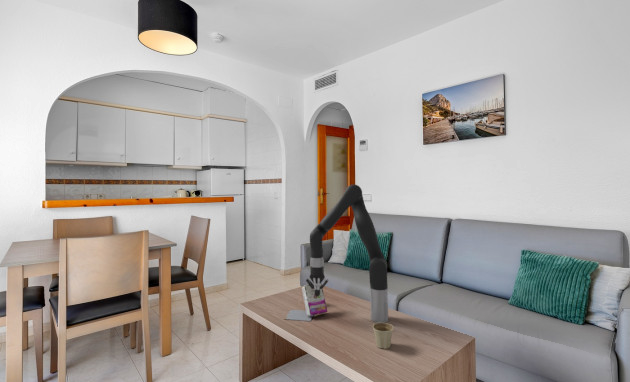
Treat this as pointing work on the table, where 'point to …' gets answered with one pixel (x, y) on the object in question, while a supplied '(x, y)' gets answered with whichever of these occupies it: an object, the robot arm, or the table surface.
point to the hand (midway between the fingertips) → (317, 295)
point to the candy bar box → (314, 301)
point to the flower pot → (383, 334)
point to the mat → (298, 315)
